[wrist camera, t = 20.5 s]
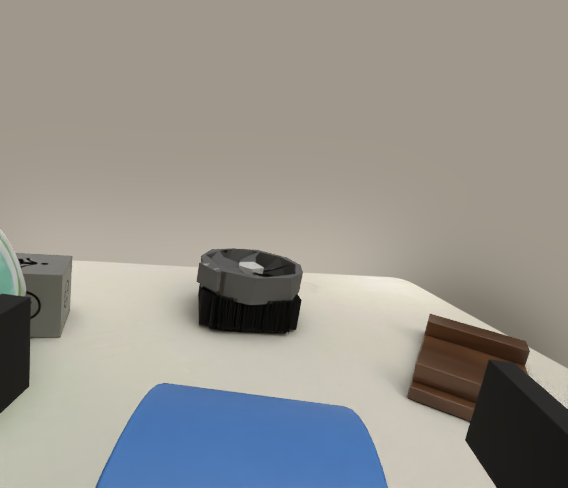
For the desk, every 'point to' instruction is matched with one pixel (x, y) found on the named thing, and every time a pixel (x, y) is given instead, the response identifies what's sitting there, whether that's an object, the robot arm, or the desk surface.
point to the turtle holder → (10, 270)
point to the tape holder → (459, 364)
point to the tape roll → (240, 443)
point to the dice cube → (47, 291)
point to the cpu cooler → (248, 291)
